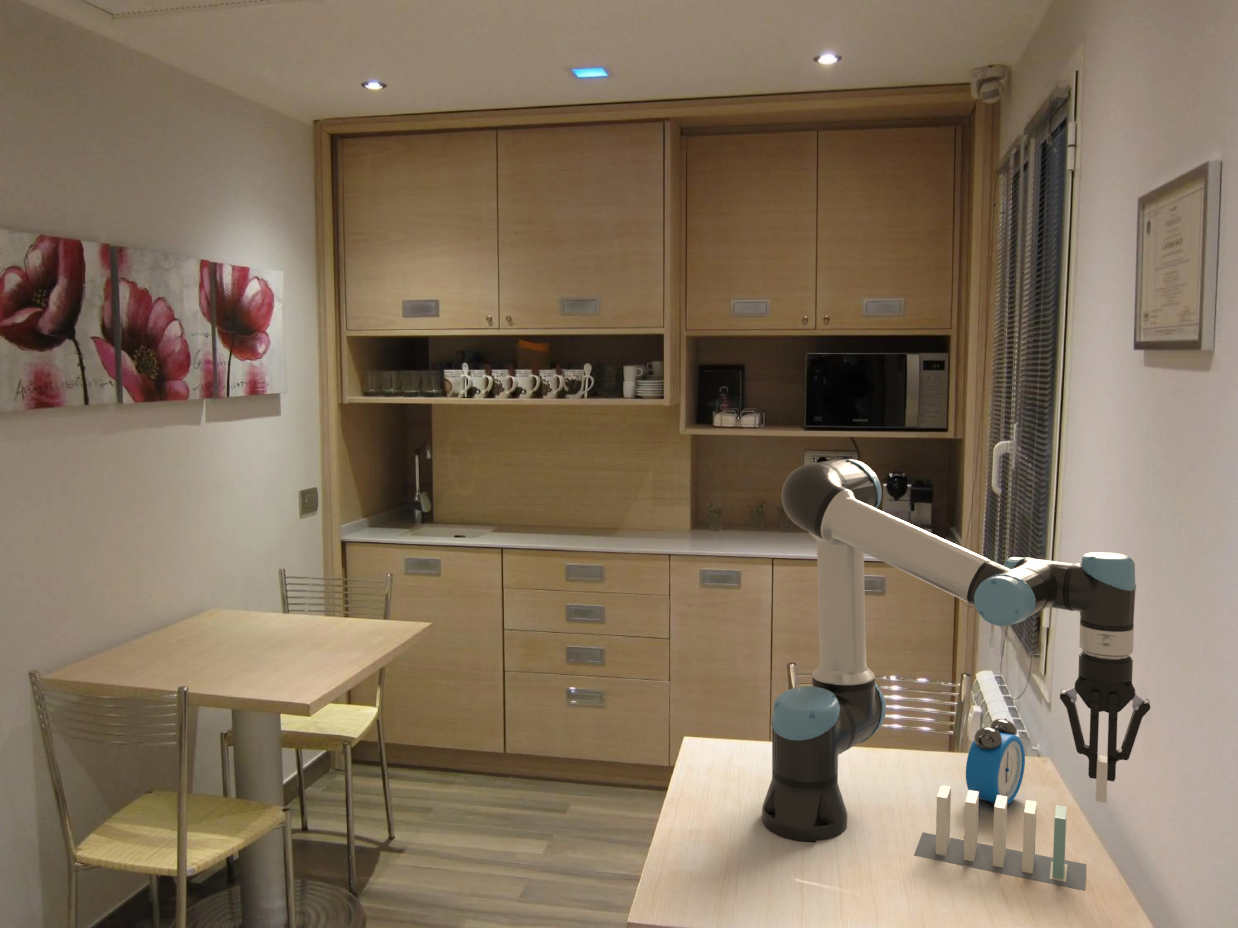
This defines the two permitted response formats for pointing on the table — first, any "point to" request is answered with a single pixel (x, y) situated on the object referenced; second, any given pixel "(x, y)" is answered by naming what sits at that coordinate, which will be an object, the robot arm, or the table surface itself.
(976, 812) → the domino
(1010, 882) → the table surface
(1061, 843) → the domino
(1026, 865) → the domino
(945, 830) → the domino
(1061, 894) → the table surface
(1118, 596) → the robot arm
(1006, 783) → the alarm clock
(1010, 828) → the table surface
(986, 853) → the mat
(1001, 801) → the domino
